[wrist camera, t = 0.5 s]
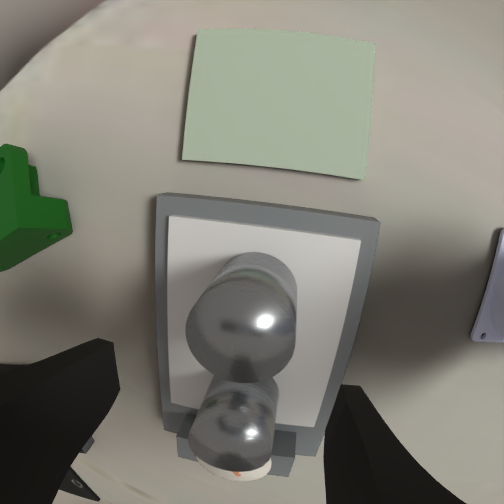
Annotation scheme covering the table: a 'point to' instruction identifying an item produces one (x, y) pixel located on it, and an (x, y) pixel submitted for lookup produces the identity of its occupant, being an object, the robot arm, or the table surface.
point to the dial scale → (308, 308)
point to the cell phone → (77, 486)
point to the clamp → (26, 210)
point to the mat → (281, 100)
